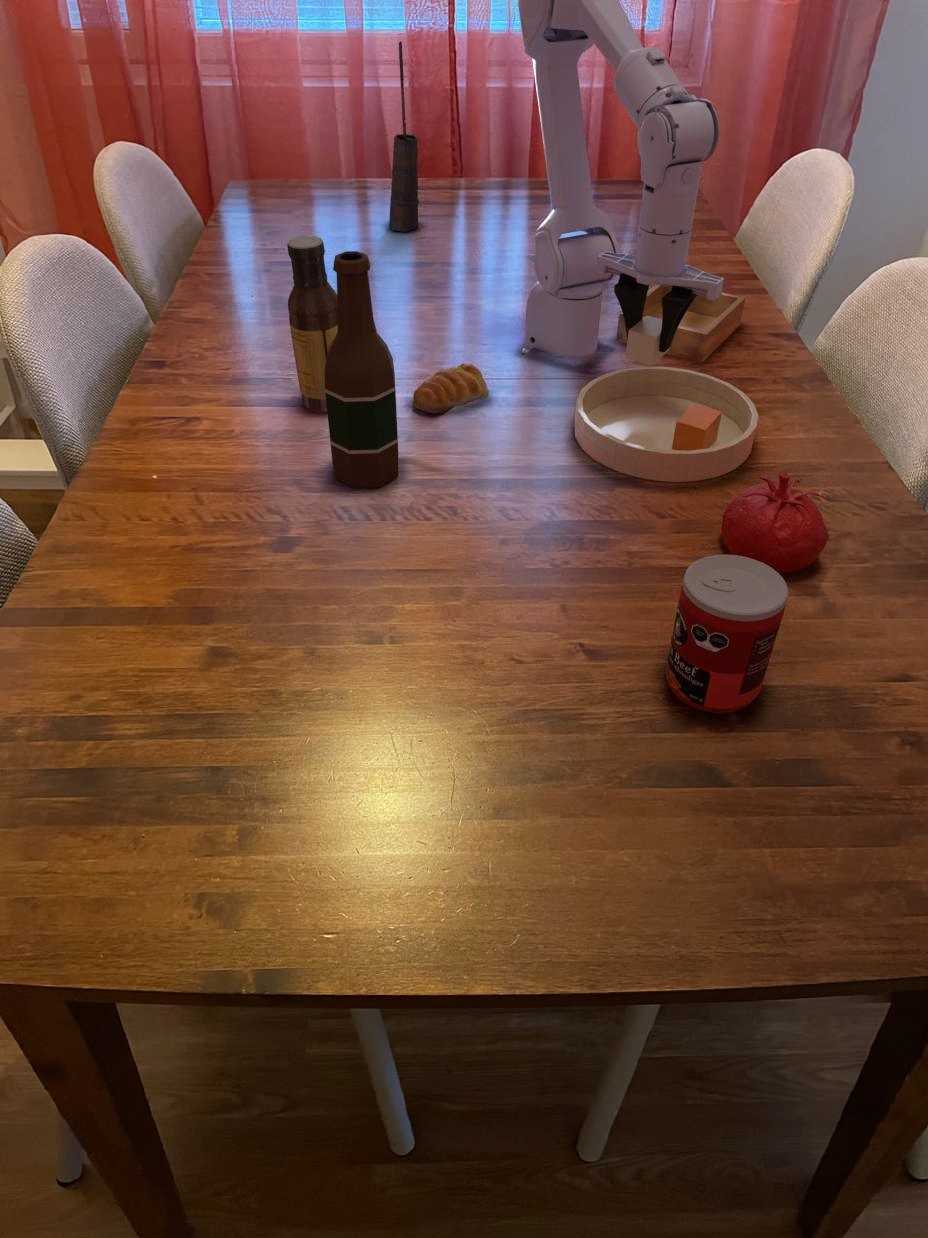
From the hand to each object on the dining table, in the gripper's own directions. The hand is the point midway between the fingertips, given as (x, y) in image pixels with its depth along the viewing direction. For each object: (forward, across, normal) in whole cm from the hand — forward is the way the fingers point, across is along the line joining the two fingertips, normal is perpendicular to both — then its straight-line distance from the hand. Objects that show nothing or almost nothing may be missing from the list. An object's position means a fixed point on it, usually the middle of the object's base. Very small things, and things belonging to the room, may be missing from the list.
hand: (648, 344), depth 112 cm
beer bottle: (+8, -19, -30) cm, 37 cm away
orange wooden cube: (+7, +10, -6) cm, 13 cm away
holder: (+8, -5, +23) cm, 25 cm away
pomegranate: (+8, +24, -21) cm, 33 cm away
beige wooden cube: (+1, 0, 0) cm, 1 cm away
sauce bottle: (+9, -33, -20) cm, 40 cm away
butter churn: (+9, -62, +36) cm, 72 cm away
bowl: (+8, +6, -6) cm, 12 cm away
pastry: (+9, -20, -11) cm, 25 cm away
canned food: (+8, +26, -41) cm, 49 cm away
